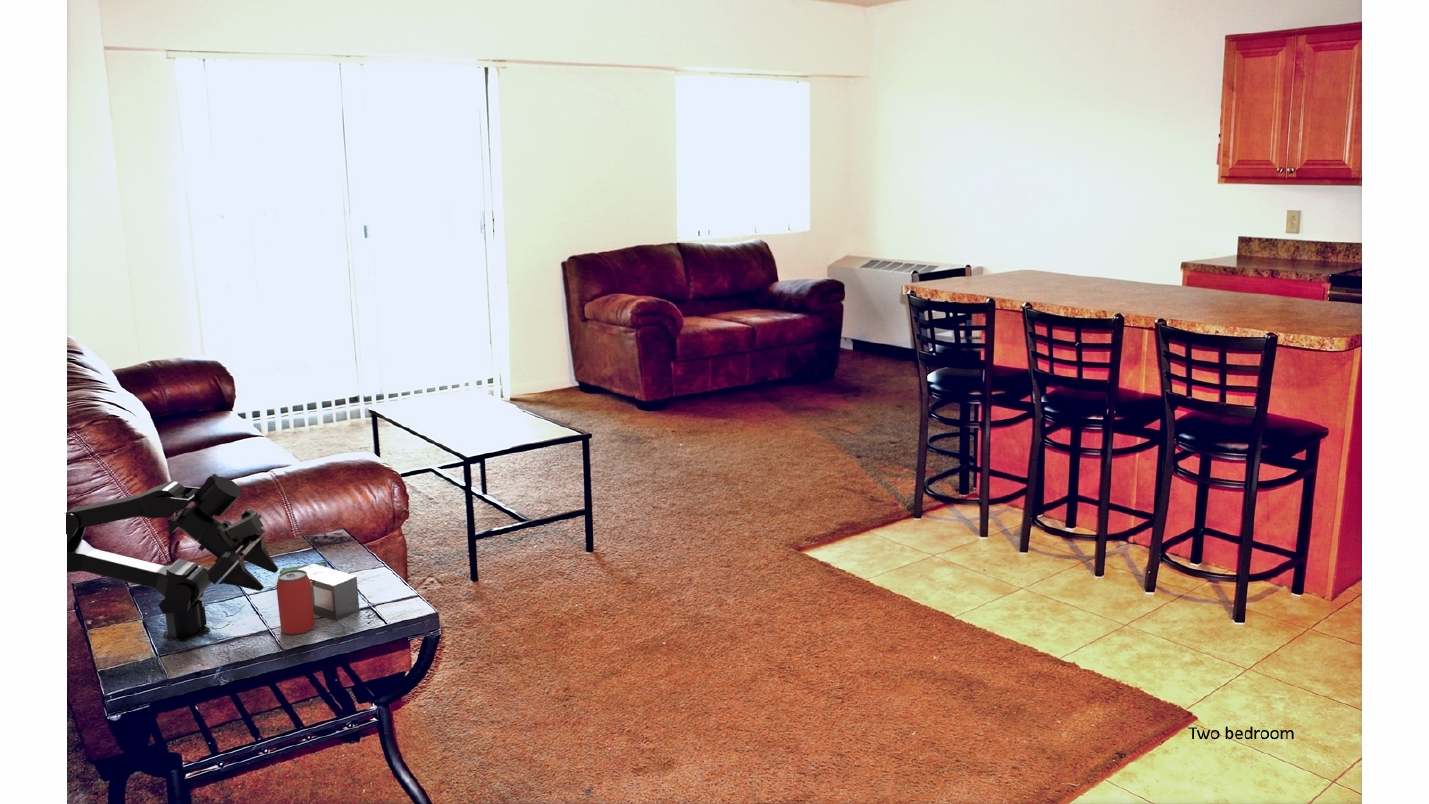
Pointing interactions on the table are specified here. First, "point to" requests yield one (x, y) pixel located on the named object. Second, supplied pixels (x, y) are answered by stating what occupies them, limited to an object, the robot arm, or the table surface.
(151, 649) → the table surface
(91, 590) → the table surface
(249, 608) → the table surface
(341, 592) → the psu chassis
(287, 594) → the beer can
